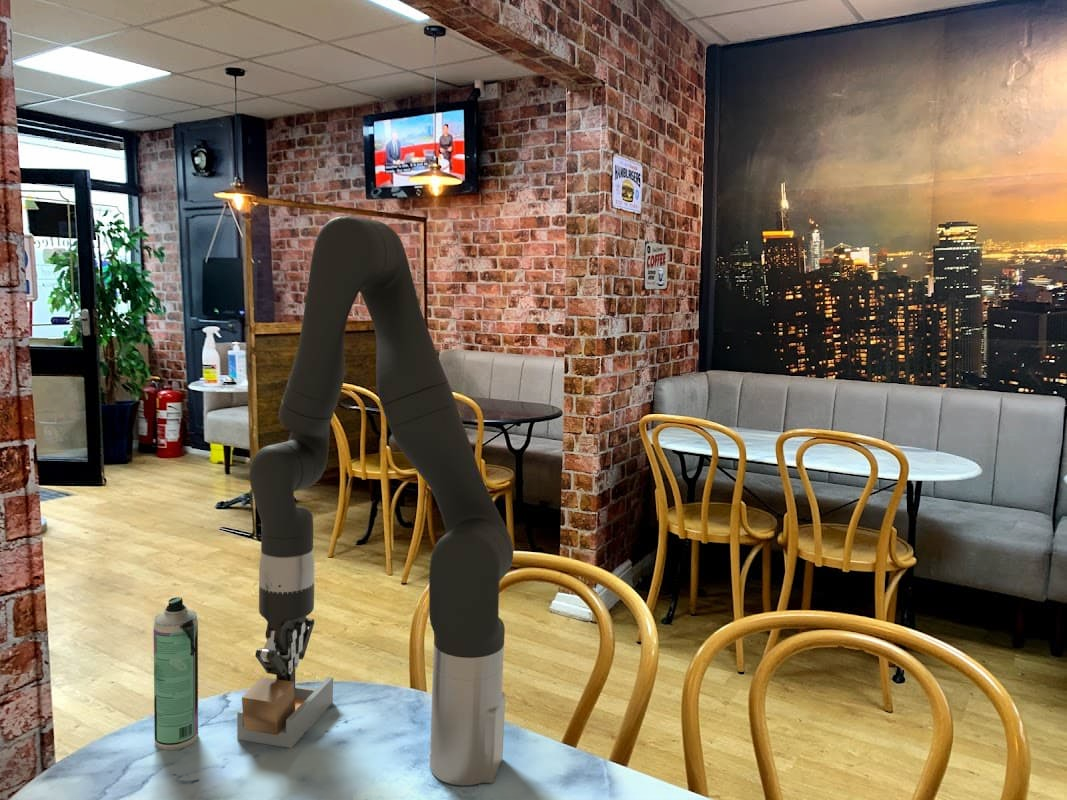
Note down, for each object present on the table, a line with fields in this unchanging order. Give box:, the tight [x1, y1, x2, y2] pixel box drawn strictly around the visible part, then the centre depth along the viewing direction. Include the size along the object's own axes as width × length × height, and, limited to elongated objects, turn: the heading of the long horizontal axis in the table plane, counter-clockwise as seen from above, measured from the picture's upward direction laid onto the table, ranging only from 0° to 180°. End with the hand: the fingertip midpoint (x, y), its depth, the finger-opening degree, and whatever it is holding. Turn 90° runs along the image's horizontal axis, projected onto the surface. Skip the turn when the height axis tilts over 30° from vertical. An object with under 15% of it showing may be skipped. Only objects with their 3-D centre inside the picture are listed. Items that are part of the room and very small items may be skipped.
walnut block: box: [241, 676, 295, 735], centre depth 109 cm, size 5×5×5 cm
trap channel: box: [236, 676, 334, 749], centre depth 114 cm, size 8×13×4 cm, turn 169°
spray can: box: [153, 596, 199, 751], centre depth 107 cm, size 6×6×20 cm
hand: (285, 694), depth 114 cm, fingers closed
